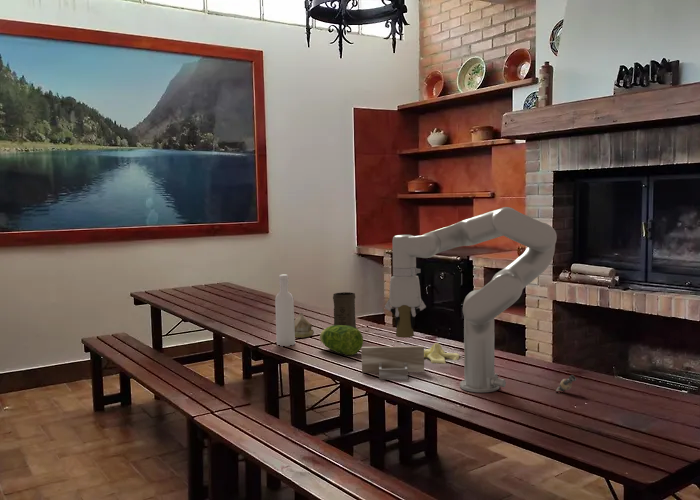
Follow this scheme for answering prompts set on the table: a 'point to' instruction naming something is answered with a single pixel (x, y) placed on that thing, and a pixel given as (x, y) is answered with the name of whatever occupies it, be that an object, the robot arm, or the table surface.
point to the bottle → (284, 314)
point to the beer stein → (344, 309)
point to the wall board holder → (393, 361)
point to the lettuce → (342, 339)
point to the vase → (566, 383)
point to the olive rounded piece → (404, 322)
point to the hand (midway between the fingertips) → (405, 327)
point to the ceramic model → (302, 326)
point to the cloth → (439, 354)
